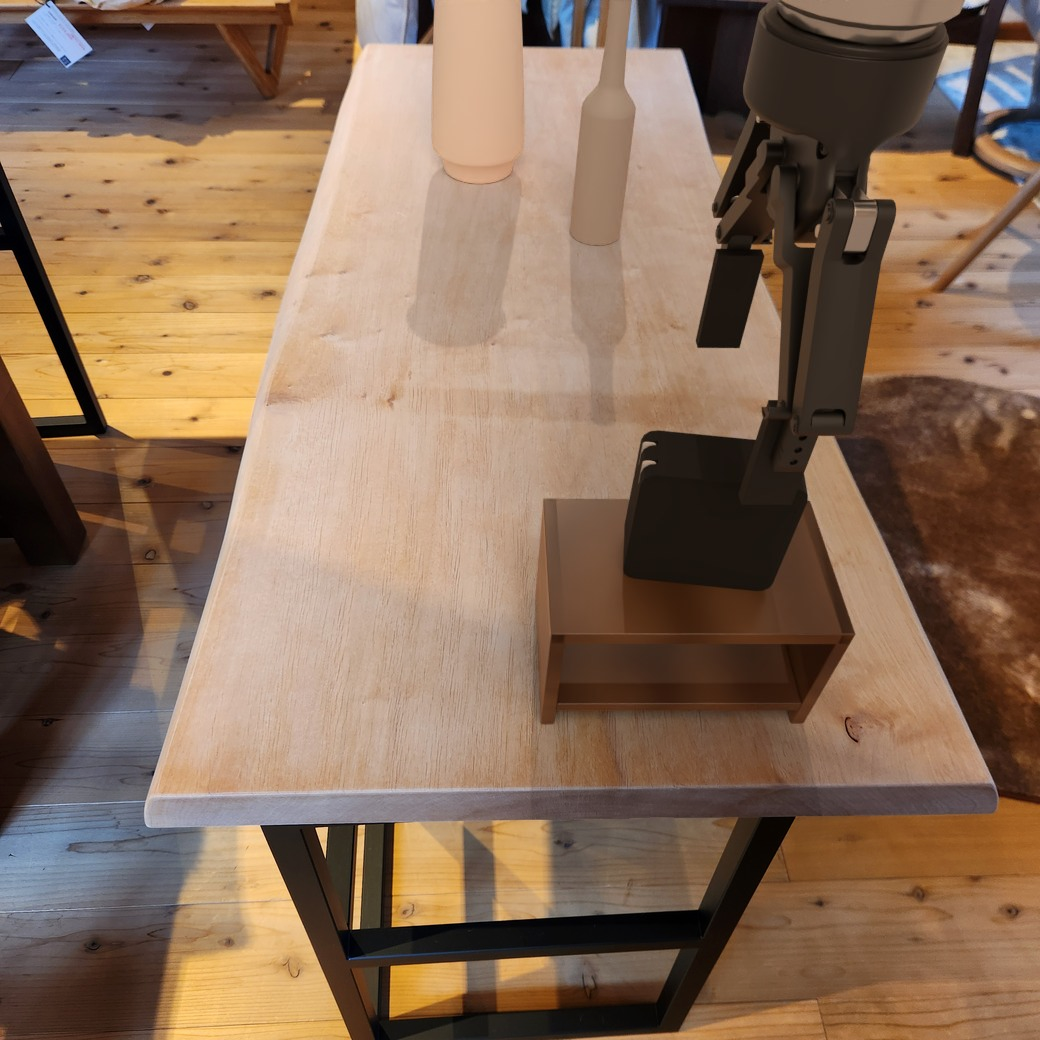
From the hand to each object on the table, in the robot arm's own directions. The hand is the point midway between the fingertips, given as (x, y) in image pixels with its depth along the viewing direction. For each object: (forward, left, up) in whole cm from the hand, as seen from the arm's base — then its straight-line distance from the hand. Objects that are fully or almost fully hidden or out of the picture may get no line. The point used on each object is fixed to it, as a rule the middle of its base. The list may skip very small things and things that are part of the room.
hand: (738, 415), depth 50 cm
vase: (+68, -49, -25) cm, 87 cm away
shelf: (0, +1, -25) cm, 25 cm away
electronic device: (0, 0, -13) cm, 13 cm away
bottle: (+45, -47, -25) cm, 69 cm away
